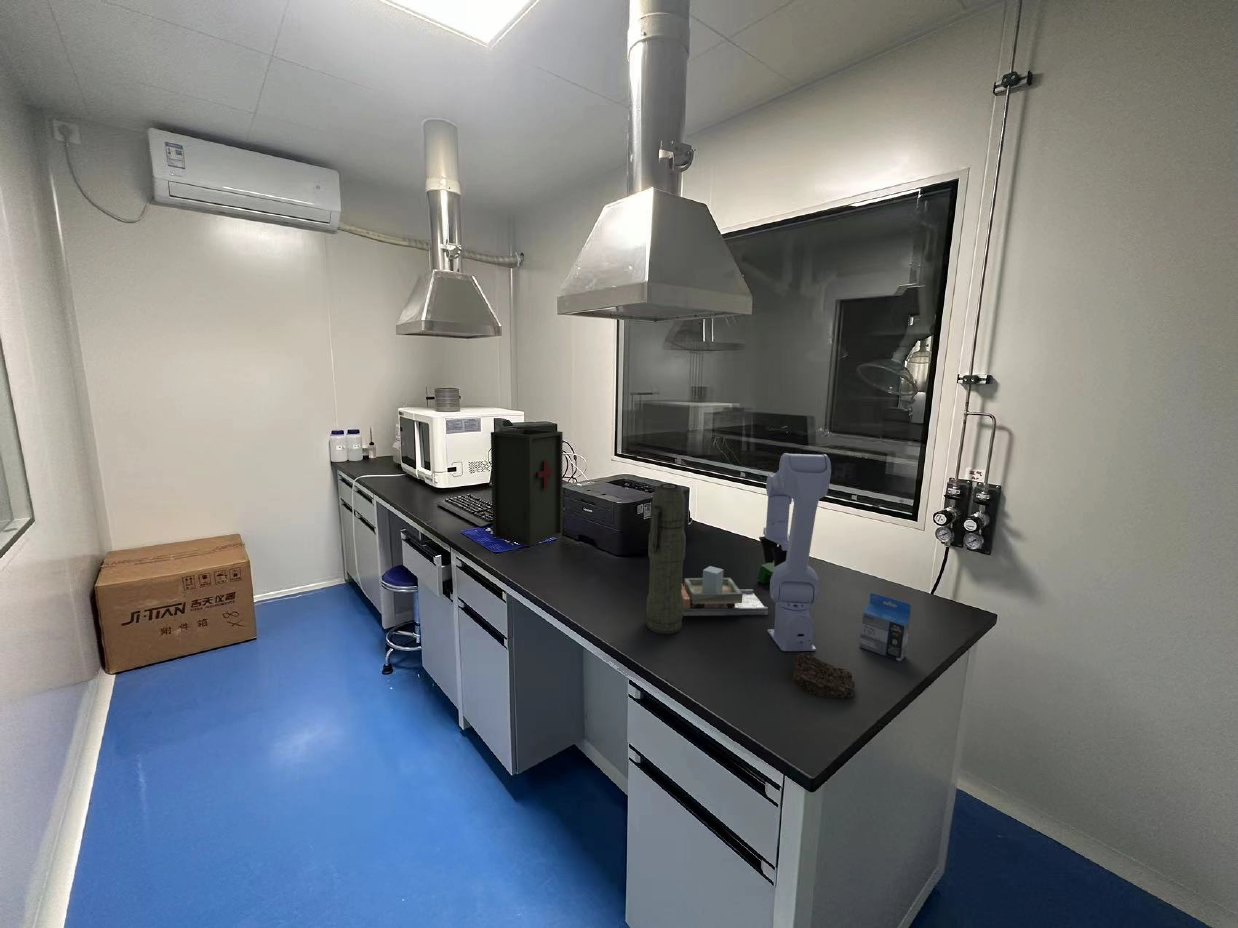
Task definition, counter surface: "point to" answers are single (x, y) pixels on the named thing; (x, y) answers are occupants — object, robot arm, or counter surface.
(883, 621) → the label tape box
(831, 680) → the brown porous oval lump
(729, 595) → the shallow open tray
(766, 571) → the clamp
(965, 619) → the counter surface
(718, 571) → the block
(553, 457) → the first aid box
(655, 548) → the thermos
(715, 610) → the rail
